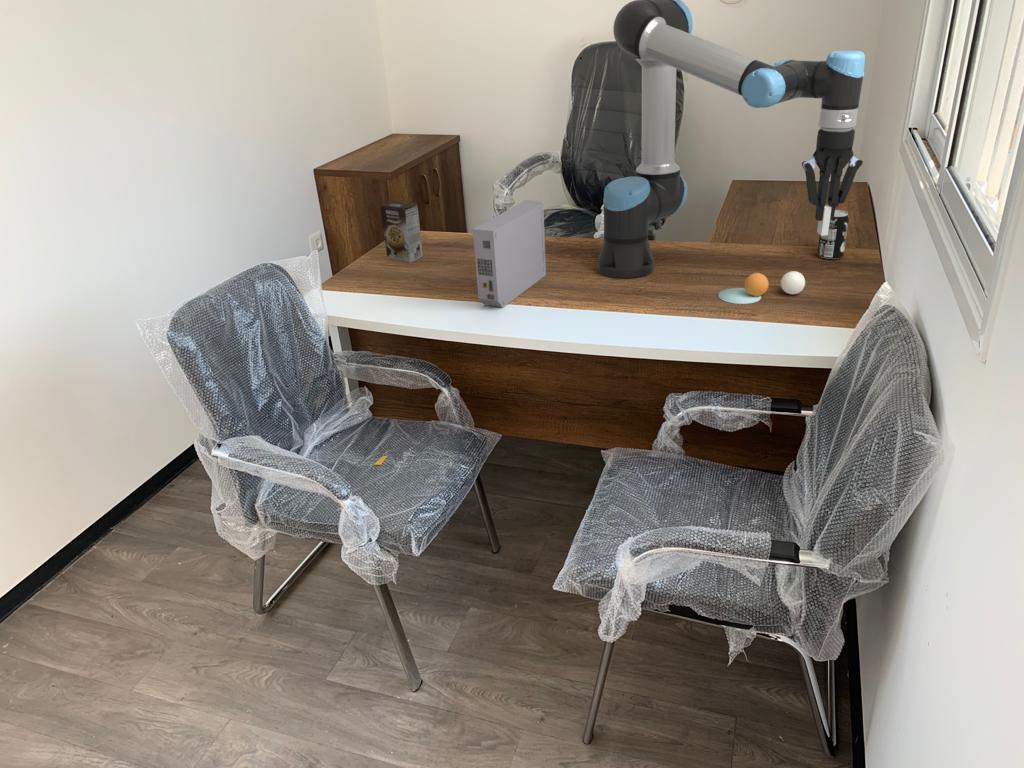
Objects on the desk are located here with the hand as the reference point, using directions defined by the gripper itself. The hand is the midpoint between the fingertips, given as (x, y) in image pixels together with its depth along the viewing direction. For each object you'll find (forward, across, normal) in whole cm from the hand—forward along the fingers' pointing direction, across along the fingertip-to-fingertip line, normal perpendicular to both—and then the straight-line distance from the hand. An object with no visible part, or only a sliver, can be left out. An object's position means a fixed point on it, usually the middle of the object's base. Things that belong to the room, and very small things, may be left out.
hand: (822, 233), depth 176 cm
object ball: (+12, -14, 0) cm, 18 cm away
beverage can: (+15, +13, +24) cm, 31 cm away
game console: (+15, -72, +13) cm, 75 cm away
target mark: (+14, -18, 0) cm, 23 cm away
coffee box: (+15, -104, +45) cm, 114 cm away
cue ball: (+12, -6, 0) cm, 13 cm away
